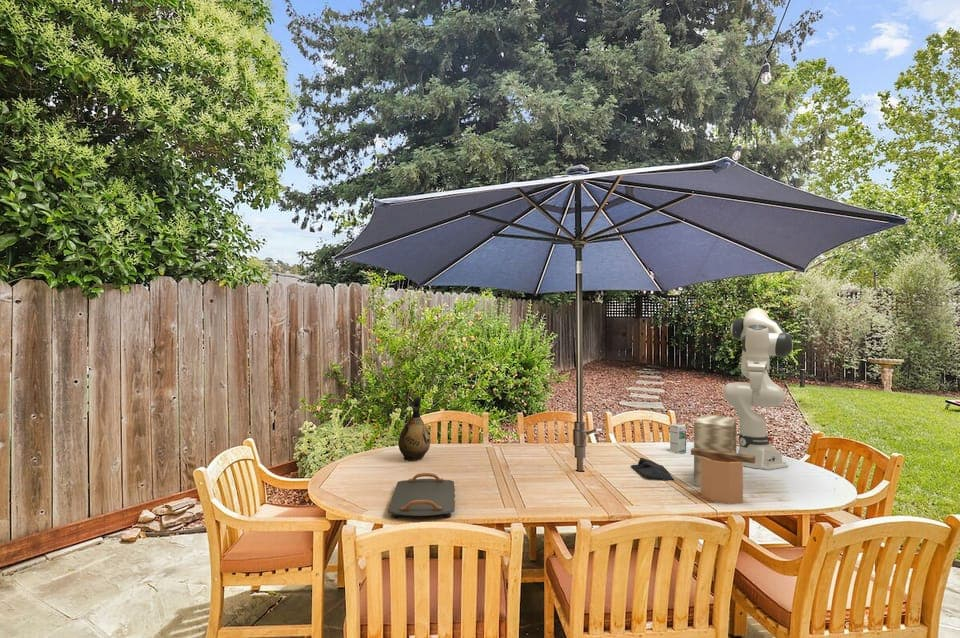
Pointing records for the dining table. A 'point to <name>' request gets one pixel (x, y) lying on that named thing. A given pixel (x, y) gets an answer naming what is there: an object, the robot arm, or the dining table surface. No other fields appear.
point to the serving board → (423, 497)
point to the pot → (722, 480)
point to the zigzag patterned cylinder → (713, 438)
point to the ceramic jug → (414, 435)
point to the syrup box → (678, 438)
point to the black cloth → (652, 470)
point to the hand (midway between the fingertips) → (756, 398)
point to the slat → (723, 455)
